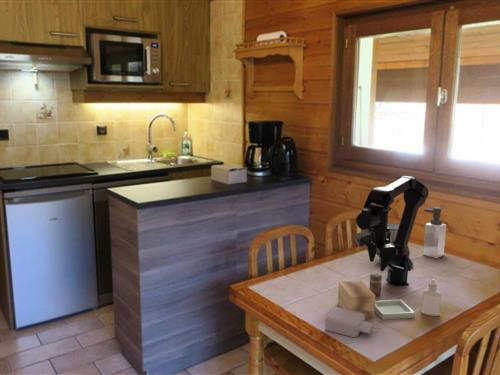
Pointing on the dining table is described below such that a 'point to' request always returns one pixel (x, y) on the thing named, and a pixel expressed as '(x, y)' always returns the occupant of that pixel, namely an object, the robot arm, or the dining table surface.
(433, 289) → the eye dropper bottle
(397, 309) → the green tray
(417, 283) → the dining table surface
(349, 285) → the pine unit
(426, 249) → the soap dispenser
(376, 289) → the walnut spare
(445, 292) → the dining table surface
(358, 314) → the grey plastic bottle
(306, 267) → the dining table surface
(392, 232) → the milk frother
